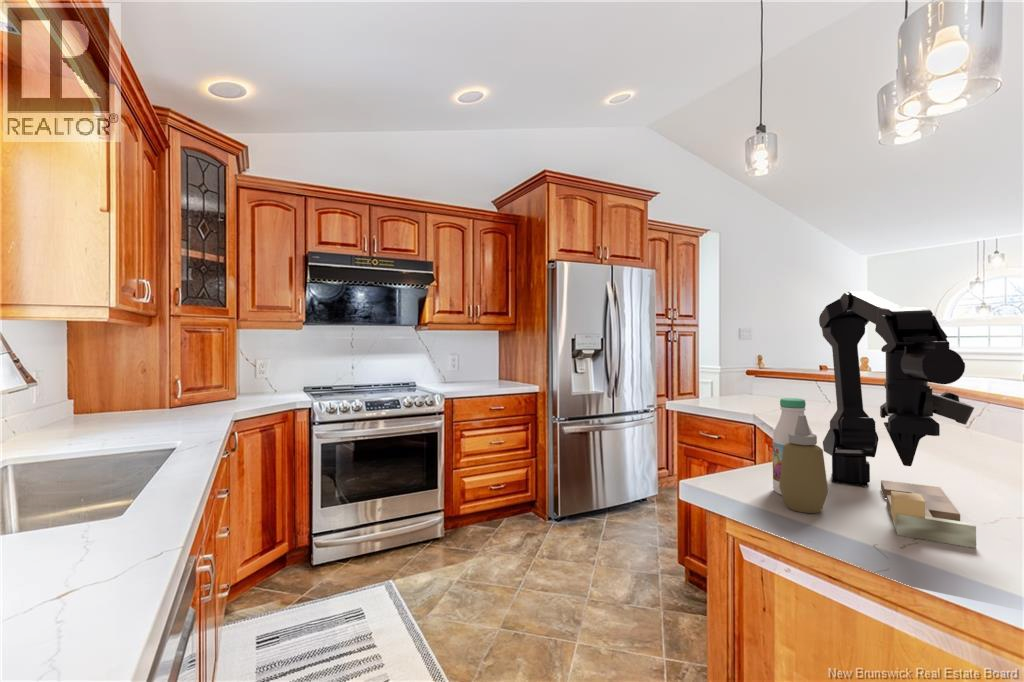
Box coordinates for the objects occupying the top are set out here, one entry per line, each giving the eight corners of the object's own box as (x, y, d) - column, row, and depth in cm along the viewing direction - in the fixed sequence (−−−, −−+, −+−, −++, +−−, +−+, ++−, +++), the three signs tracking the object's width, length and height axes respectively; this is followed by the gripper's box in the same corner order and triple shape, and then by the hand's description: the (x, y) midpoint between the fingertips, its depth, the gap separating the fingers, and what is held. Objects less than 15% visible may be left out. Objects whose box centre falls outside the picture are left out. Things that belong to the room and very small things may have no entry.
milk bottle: (808, 488, 102) (807, 396, 102) (821, 501, 95) (820, 401, 95) (768, 486, 104) (767, 396, 104) (778, 498, 97) (777, 401, 97)
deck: (897, 534, 78) (897, 514, 78) (881, 489, 101) (880, 473, 101) (976, 548, 73) (976, 526, 73) (940, 496, 96) (940, 480, 96)
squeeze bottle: (805, 518, 86) (804, 420, 86) (769, 504, 94) (768, 413, 93) (839, 513, 88) (838, 417, 88) (801, 499, 96) (800, 411, 96)
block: (893, 521, 79) (893, 497, 79) (891, 513, 82) (890, 490, 82) (925, 526, 77) (925, 501, 77) (921, 518, 80) (920, 494, 80)
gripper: (983, 385, 72) (984, 487, 72) (955, 375, 87) (956, 459, 87) (890, 382, 78) (891, 476, 78) (879, 373, 93) (880, 452, 94)
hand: (907, 465), depth 84 cm, fingers closed
